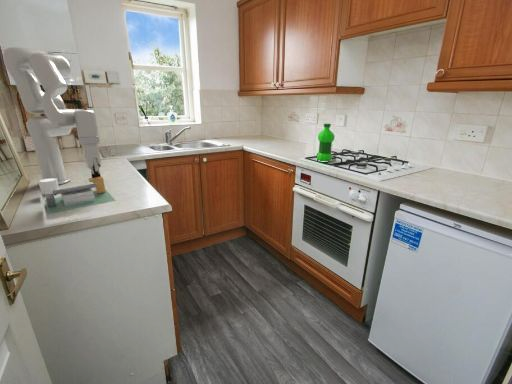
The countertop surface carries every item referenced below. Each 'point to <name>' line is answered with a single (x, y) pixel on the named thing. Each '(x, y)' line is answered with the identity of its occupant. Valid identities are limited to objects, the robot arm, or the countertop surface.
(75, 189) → the strap
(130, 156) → the countertop surface
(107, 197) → the circuit board
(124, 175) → the countertop surface
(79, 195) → the heat sink
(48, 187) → the white grey cylinder
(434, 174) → the countertop surface
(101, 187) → the block
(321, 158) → the plastic bottle
